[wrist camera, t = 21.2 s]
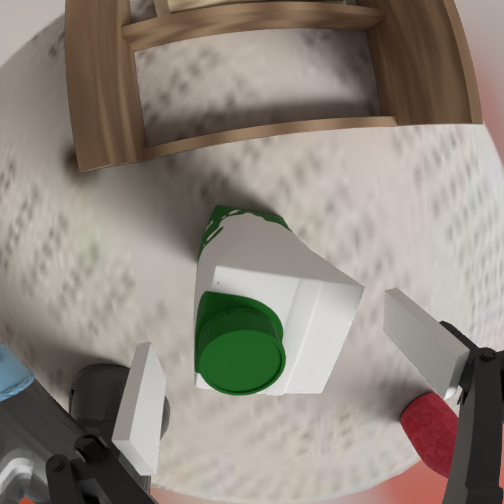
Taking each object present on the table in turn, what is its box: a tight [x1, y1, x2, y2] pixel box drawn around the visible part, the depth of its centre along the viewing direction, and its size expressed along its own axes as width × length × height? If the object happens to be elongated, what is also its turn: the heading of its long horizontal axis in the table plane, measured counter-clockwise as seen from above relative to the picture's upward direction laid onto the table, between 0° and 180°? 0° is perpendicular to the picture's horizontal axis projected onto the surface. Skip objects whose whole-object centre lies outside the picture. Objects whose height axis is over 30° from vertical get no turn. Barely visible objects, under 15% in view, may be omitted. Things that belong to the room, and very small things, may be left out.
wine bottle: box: [400, 393, 459, 478], centre depth 33 cm, size 10×10×30 cm
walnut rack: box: [65, 0, 483, 172], centre depth 19 cm, size 28×19×14 cm, turn 99°
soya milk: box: [194, 205, 364, 395], centre depth 23 cm, size 9×9×20 cm
